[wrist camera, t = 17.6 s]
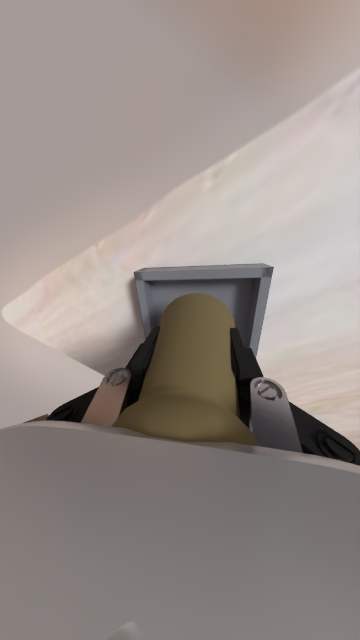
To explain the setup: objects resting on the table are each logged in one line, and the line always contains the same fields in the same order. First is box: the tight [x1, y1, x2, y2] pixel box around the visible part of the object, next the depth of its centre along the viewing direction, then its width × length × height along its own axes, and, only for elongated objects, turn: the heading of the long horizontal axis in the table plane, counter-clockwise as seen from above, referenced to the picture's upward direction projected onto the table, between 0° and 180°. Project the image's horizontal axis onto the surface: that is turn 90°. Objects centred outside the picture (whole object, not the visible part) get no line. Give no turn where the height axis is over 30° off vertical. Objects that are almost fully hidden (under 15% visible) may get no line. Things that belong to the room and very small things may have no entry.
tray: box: [134, 264, 274, 358], centre depth 19 cm, size 18×12×3 cm, turn 3°
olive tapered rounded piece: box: [111, 293, 259, 446], centre depth 8 cm, size 6×6×11 cm
